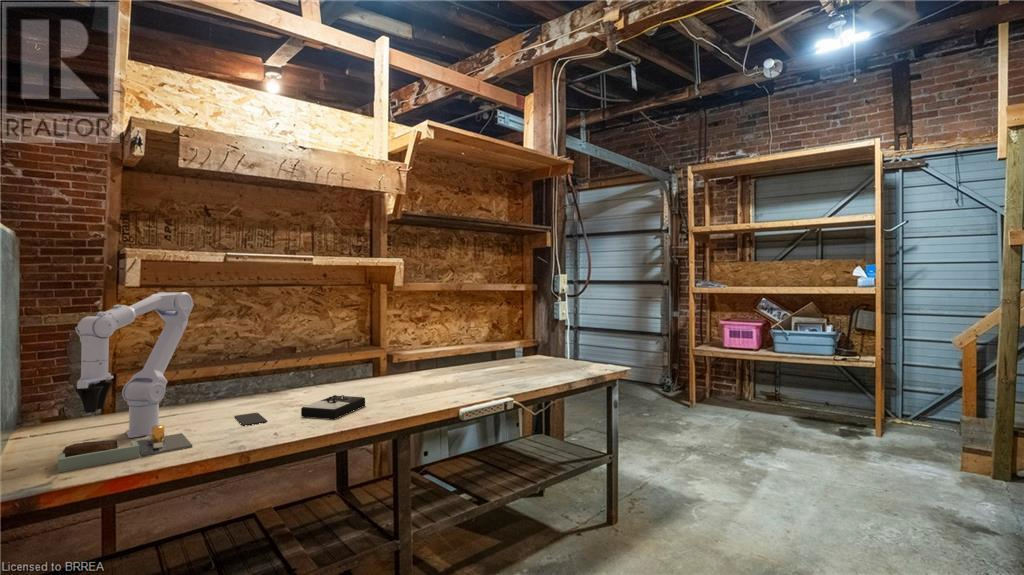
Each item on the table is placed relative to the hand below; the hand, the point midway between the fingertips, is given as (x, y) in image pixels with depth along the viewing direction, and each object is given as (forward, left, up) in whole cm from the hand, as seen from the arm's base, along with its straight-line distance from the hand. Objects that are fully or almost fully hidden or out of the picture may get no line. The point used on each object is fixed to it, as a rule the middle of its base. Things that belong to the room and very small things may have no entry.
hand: (94, 410), depth 136 cm
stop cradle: (+13, 0, -10) cm, 16 cm away
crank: (+9, +13, -9) cm, 18 cm away
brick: (+11, -1, -11) cm, 16 cm away
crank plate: (+9, +14, -10) cm, 20 cm away
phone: (-4, +40, -11) cm, 42 cm away
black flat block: (+4, +65, -11) cm, 66 cm away
